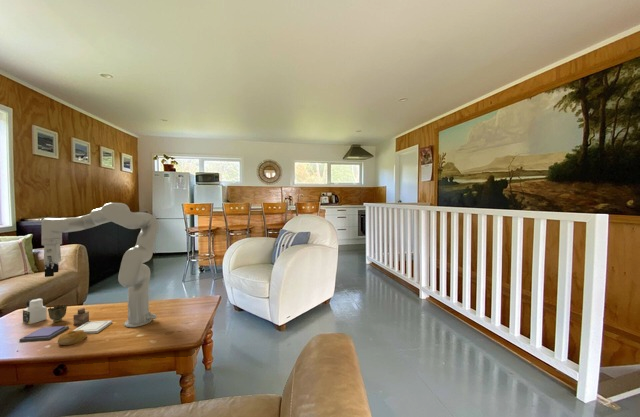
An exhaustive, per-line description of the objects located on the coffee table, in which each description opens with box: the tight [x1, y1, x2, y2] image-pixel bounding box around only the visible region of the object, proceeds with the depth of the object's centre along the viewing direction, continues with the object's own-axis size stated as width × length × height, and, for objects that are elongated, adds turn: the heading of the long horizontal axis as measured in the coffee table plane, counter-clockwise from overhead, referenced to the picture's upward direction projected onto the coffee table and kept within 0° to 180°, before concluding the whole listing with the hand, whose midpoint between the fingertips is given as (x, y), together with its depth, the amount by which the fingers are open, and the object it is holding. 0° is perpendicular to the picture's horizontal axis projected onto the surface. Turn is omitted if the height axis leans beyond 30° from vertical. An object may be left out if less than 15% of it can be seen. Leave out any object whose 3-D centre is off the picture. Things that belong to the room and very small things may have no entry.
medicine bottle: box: [22, 297, 48, 325], centre depth 146 cm, size 7×7×12 cm
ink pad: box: [19, 325, 69, 343], centre depth 131 cm, size 12×12×2 cm
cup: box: [47, 304, 68, 324], centre depth 146 cm, size 8×7×8 cm
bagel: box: [57, 330, 88, 346], centre depth 125 cm, size 10×11×5 cm
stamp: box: [73, 308, 90, 326], centre depth 144 cm, size 4×4×8 cm
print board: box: [72, 319, 113, 335], centre depth 138 cm, size 12×12×1 cm
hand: (51, 274), depth 139 cm, fingers open, 9 cm apart
